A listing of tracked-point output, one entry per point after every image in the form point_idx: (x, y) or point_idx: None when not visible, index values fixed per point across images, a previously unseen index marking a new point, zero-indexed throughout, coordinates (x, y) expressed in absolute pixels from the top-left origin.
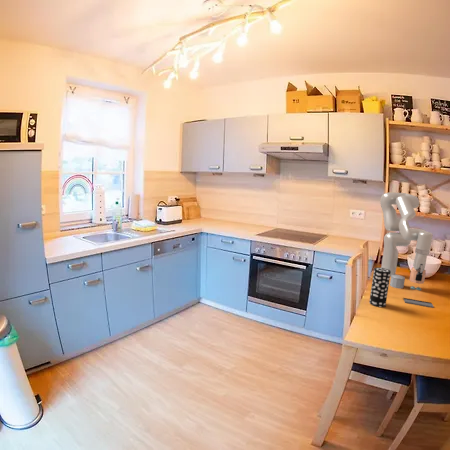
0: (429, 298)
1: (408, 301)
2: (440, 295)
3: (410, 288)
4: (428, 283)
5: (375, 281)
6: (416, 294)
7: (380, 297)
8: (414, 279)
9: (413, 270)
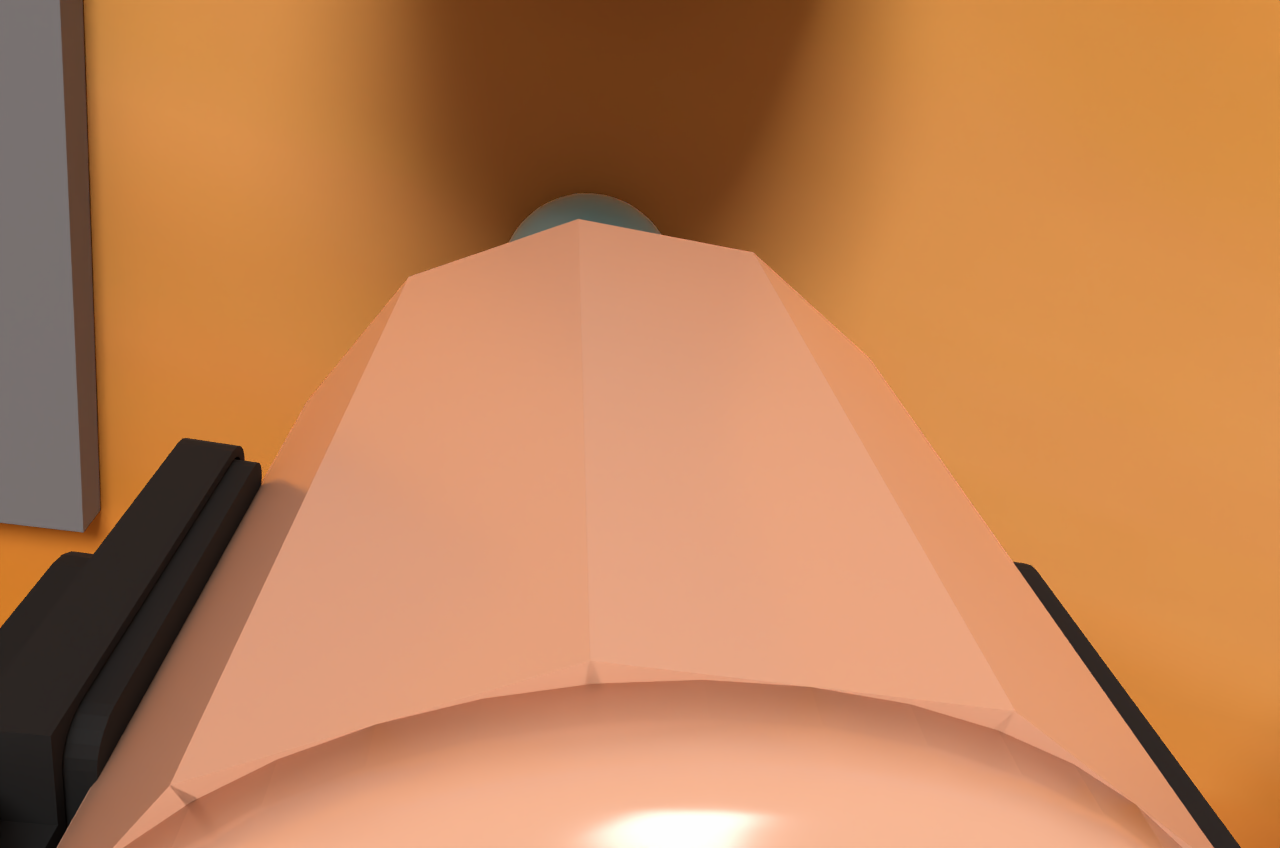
0: (64, 542)
1: None
2: None
3: (556, 200)
4: (1261, 825)
5: None
6: (253, 277)
7: None
8: (319, 418)
9: (310, 760)
